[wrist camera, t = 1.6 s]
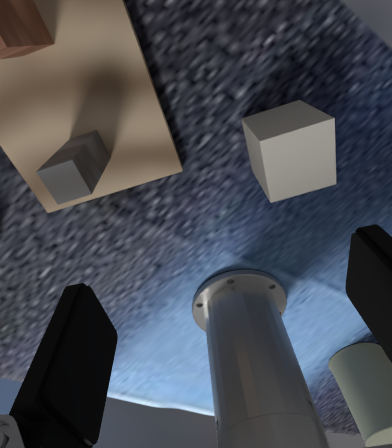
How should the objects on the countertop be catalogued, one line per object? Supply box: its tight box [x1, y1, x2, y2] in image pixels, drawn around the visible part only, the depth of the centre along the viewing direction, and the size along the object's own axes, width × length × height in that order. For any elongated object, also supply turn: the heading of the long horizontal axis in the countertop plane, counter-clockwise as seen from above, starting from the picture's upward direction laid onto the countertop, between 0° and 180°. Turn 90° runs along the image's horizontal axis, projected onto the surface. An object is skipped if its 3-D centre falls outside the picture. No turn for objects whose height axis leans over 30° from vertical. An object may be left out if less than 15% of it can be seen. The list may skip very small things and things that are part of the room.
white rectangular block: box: [242, 100, 336, 203], centre depth 24 cm, size 5×5×7 cm
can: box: [329, 343, 392, 447], centre depth 44 cm, size 9×9×12 cm
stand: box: [0, 0, 183, 213], centre depth 20 cm, size 18×14×8 cm
